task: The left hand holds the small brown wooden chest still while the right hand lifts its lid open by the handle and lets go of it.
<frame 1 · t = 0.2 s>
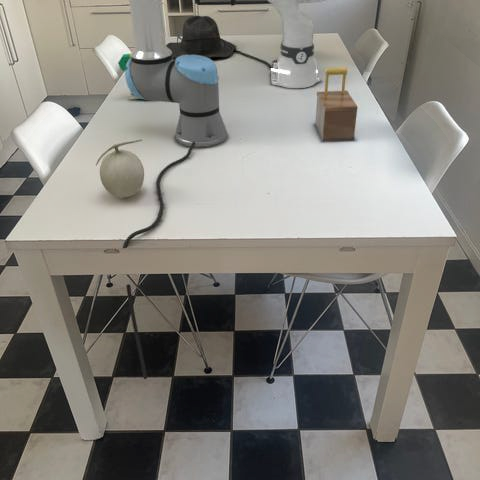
left hand: (215, 4, 181), 28 cm above the table, tool pointing down, fingers open, 13 cm apart
toy 2: (299, 58, 221), on the table
lid: (337, 87, 150), point 14 cm above the table, hinge at 0.0°
toy: (149, 98, 185), on the table
chest: (333, 132, 157), on the table
fruit: (124, 195, 128), on the table
hat: (200, 51, 234), on the table
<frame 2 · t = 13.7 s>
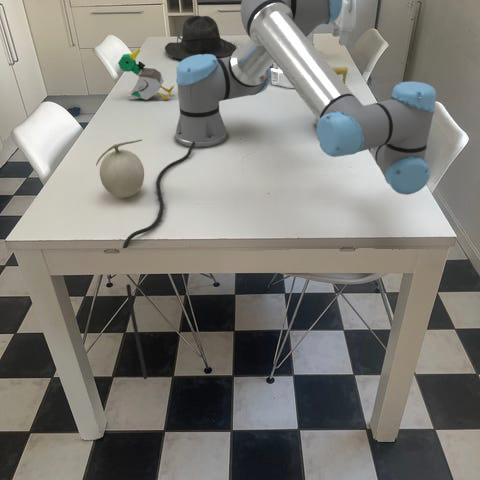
left hand: (362, 108, 124), 18 cm above the table, tool horizontal, fingers open, 13 cm apart
right hand: (338, 40, 145), 26 cm above the table, tool pointing down, fingers open, 8 cm apart
nothing on the table moved.
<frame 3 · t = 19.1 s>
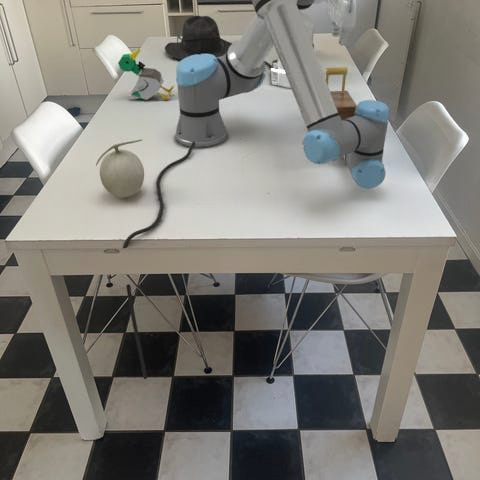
left hand: (337, 116, 151), 6 cm above the table, tool horizontal, fingers closed on chest, 9 cm apart
right hand: (338, 40, 145), 26 cm above the table, tool pointing down, fingers open, 8 cm apart
chest: (333, 132, 157), on the table, touching left hand
everything else where it was.
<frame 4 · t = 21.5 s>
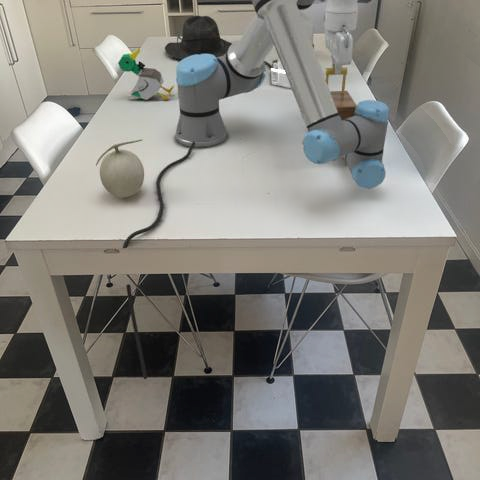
left hand: (338, 116, 151), 6 cm above the table, tool horizontal, fingers closed on chest, 9 cm apart
right hand: (336, 71, 151), 17 cm above the table, tool pointing down, fingers closed on lid, 2 cm apart
lid: (337, 87, 150), point 14 cm above the table, hinge at -0.1°, touching right hand
chest: (333, 132, 157), on the table, touching left hand
everything else where it was.
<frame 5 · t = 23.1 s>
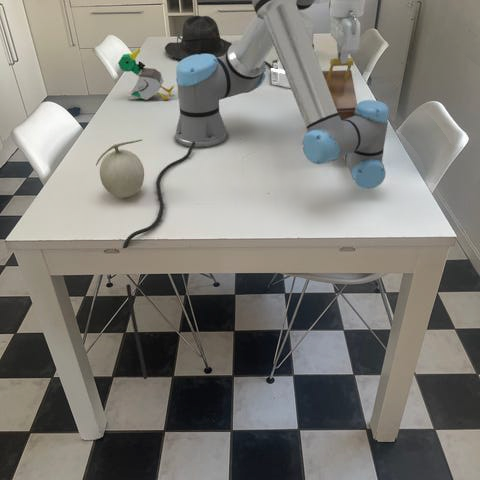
left hand: (337, 116, 151), 6 cm above the table, tool horizontal, fingers closed on chest, 9 cm apart
right hand: (341, 61, 143), 22 cm above the table, tool pointing down, fingers closed, pressing on lid
lid: (340, 81, 145), point 17 cm above the table, hinge at 30.7°, touching right hand
chest: (333, 132, 157), on the table, touching left hand
everything else where it was.
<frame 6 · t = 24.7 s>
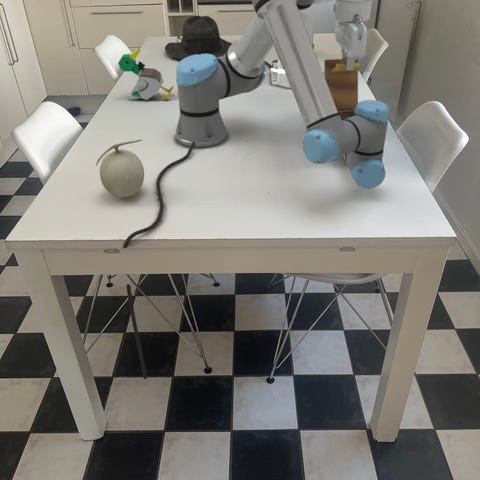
left hand: (337, 116, 151), 6 cm above the table, tool horizontal, fingers closed on chest, 9 cm apart
right hand: (347, 67, 137), 22 cm above the table, tool pointing down, fingers open, 3 cm apart
lid: (344, 82, 141), point 18 cm above the table, hinge at 64.1°
chest: (333, 132, 157), on the table, touching left hand
everything else where it was.
when the left hand's fingers open (6 cm above the table, at t = 28.7 s): chest stays where it is, on the table.
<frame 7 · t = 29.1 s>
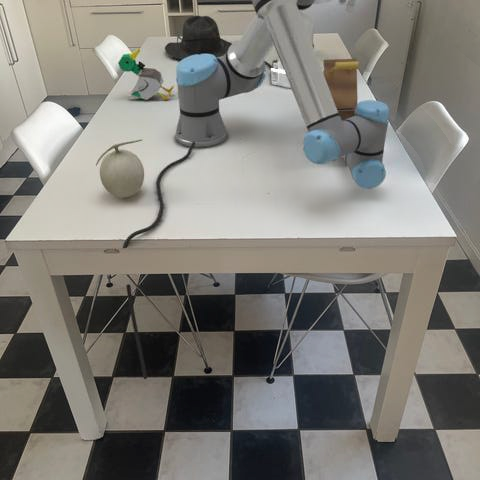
left hand: (338, 118, 150), 6 cm above the table, tool horizontal, fingers open, 13 cm apart
right hand: (345, 7, 136), 35 cm above the table, tool pointing down, fingers open, 8 cm apart
lid: (343, 81, 142), point 18 cm above the table, hinge at 61.8°
chest: (333, 132, 157), on the table
everything else where it was.
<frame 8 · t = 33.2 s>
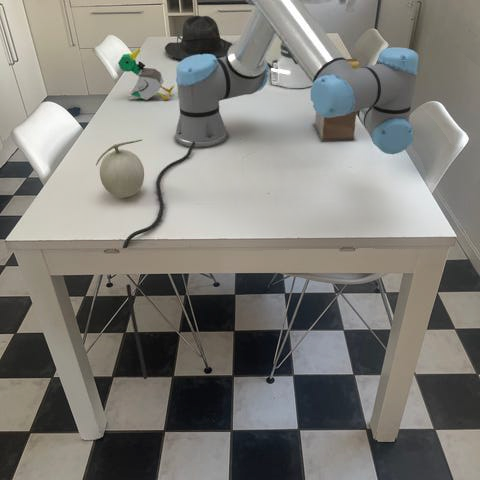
left hand: (353, 80, 131), 21 cm above the table, tool horizontal, fingers open, 13 cm apart
right hand: (345, 7, 136), 35 cm above the table, tool pointing down, fingers open, 8 cm apart
nothing on the table moved.
at the end: lid at +62° (first picture: +0°); the left hand is holding nothing; the right hand is holding nothing; chest tilted 0°; chest never tilted more than 1° during the clip; chest moved 0.2 cm from its start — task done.
